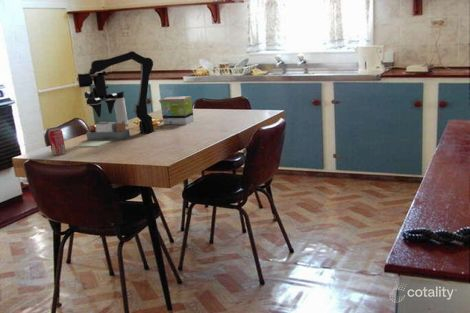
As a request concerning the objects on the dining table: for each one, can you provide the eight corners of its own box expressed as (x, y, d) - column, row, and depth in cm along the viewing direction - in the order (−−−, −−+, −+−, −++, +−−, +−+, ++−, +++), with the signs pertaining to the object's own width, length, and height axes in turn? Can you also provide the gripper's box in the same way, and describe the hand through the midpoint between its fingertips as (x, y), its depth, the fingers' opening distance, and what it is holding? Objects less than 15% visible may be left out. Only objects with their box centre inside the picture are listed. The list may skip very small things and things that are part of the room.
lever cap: (118, 129, 271) (116, 121, 270) (112, 131, 267) (111, 123, 266) (102, 130, 275) (101, 121, 274) (96, 132, 271) (95, 123, 270)
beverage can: (54, 153, 248) (49, 128, 245) (67, 152, 249) (62, 127, 246) (50, 156, 242) (46, 131, 239) (64, 155, 243) (59, 129, 240)
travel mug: (126, 126, 302) (121, 92, 297) (115, 127, 303) (110, 93, 298) (130, 124, 308) (125, 90, 303) (120, 125, 309) (115, 91, 304)
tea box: (163, 125, 296) (159, 99, 292) (171, 121, 305) (168, 96, 301) (186, 124, 290) (183, 98, 286) (194, 120, 299) (191, 95, 295)
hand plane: (130, 136, 271) (127, 121, 269) (122, 139, 264) (119, 124, 262) (95, 137, 279) (93, 122, 277) (87, 140, 273) (84, 125, 271)
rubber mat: (110, 142, 262) (110, 140, 262) (98, 146, 253) (98, 145, 253) (91, 142, 267) (91, 141, 267) (78, 146, 258) (78, 145, 258)
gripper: (98, 83, 277) (103, 112, 281) (75, 88, 260) (80, 119, 264) (115, 82, 272) (120, 111, 276) (93, 87, 256) (98, 118, 260)
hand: (105, 115), depth 269 cm, fingers open, 9 cm apart
